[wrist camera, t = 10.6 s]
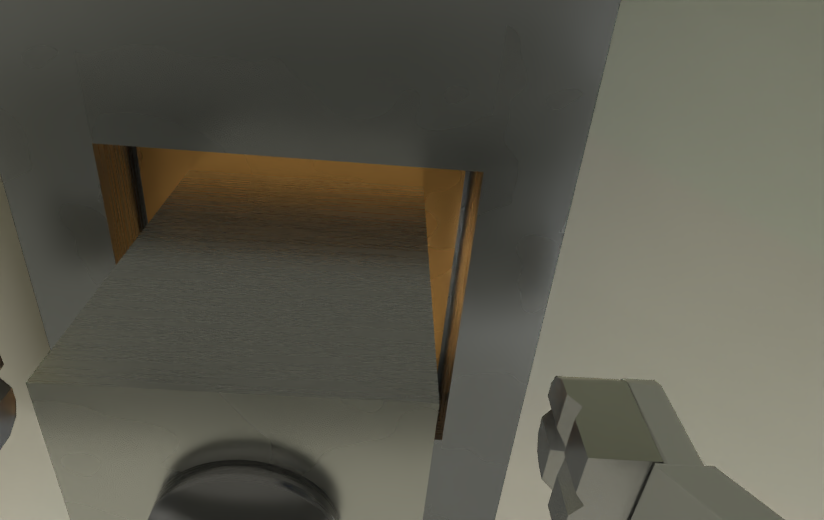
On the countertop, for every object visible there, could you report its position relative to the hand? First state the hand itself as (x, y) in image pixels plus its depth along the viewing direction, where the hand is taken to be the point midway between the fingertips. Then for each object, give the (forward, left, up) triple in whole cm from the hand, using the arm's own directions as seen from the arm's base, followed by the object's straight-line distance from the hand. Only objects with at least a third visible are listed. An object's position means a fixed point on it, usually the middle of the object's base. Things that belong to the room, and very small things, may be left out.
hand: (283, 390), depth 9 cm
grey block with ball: (0, 0, -3) cm, 3 cm away
